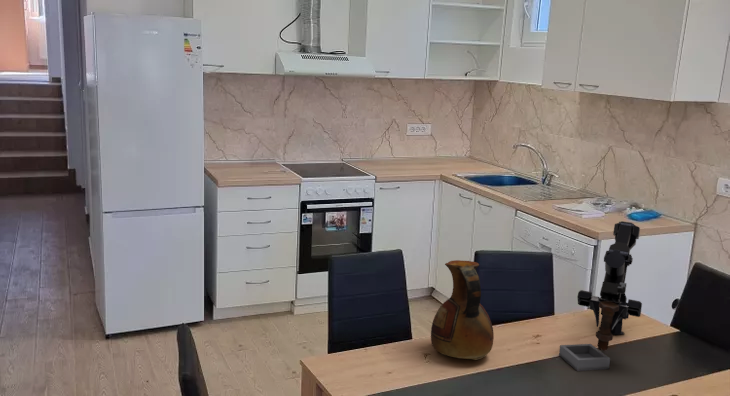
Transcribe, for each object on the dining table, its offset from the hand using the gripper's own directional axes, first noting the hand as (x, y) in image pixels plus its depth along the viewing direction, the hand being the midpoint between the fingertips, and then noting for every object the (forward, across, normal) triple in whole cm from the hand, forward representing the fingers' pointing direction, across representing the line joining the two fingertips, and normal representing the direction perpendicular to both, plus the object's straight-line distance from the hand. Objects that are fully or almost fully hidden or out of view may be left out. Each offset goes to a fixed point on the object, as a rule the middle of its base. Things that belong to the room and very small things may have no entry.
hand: (604, 327), depth 200 cm
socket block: (+8, -5, +10) cm, 14 cm away
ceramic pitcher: (+20, -40, -1) cm, 45 cm away
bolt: (+4, 0, +7) cm, 8 cm away
